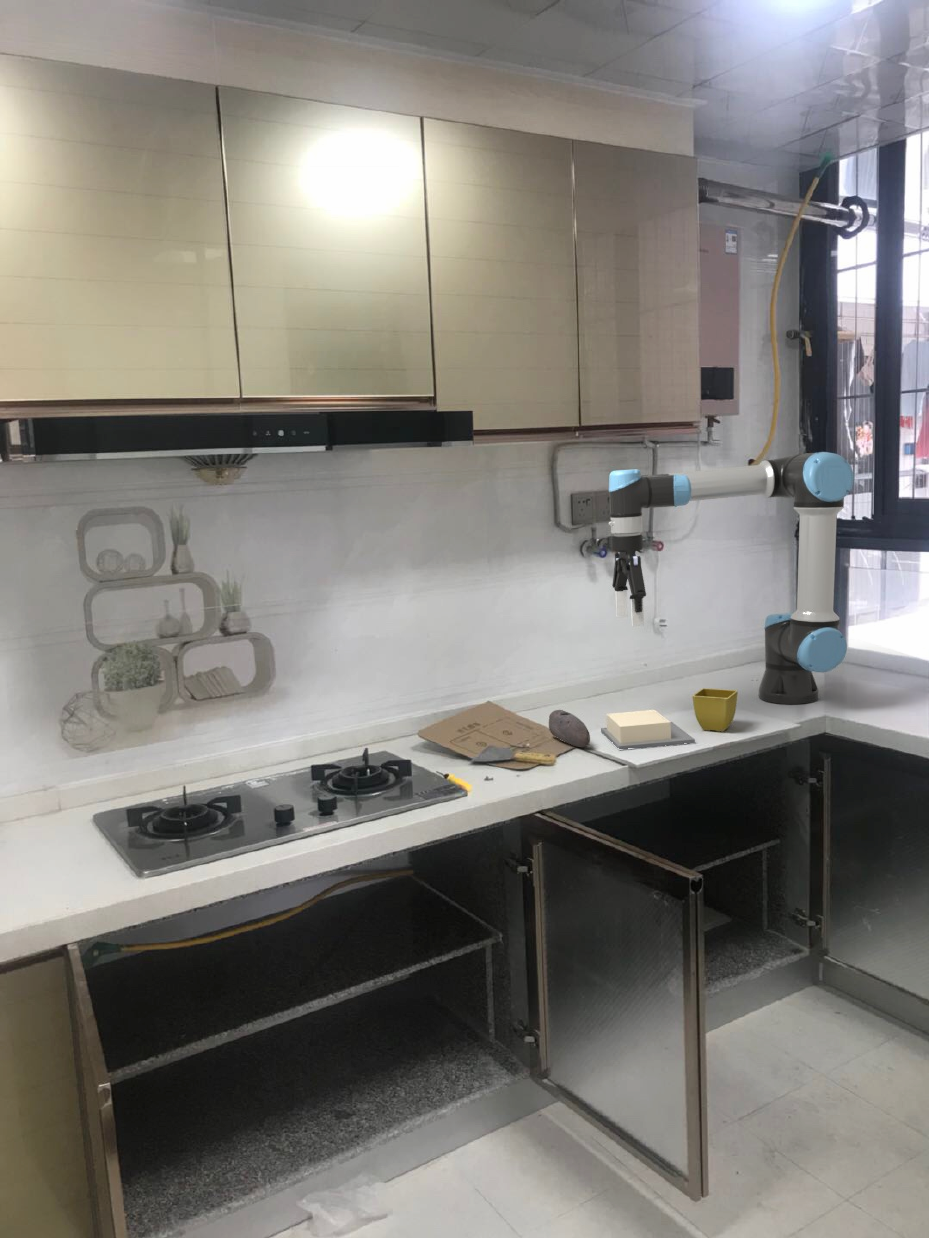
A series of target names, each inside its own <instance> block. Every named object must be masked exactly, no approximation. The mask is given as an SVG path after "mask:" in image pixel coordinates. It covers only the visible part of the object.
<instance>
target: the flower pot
mask: <svg viewBox="0 0 929 1238" xmlns="http://www.w3.org/2000/svg"><path fill="white" fill-rule="evenodd" d="M738 692H739V691H738V690H735V689H734V690H733V689H722V688H721V689H718V688H707V687H706V688H705V687H703V688H701V689H700V690H699V691H697V692H695V693H694V694H693V695H692V702H693V710H694V715H695V718H696V720H697V722H698V725H699V726H700V728H701V729H702V730H704V731H710V730H716V731H715V732H720V731H722V732H725V731H726V730H727V729H728V728H729V727H730V726H731V724H732V722H733V719H734V717H735V714H736V710H737V701H738V694H739V693H738Z"/></svg>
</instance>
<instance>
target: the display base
mask: <svg viewBox="0 0 929 1238" xmlns="http://www.w3.org/2000/svg"><path fill="white" fill-rule="evenodd" d="M600 732H601V734H602V735H603V734H604V735H603V736H606V737H607V738H608V739H609V740H610V741H611V742H613V744H614V745H615V746H616V747H617V748H619V749H628V748H641V749H648V748H647V747H652V748H658V747H657V746H663V747H666V746H665V745H673V746H676V745H675V744H684V743H695V744H696V739H695V738H694V737H693V736H691V735H690V734H689V733H687V732H686V731H685V730H683V729H682V728H681V727H679V726H678V725H676V724H675V723H674V722H673V721H670V720H668V719H667V718H665V716H663V715H662V714H661V713H659V712H658V711H656V710H655V709H648V710H647V709H646V710H637V711H634V710H633V711H627V712H626V711H623V712H614V713H613V712H612V713H606V727H600ZM606 737H605V738H606ZM608 739H607V740H608ZM609 740H608V741H609ZM610 741H609V742H610ZM611 742H610V743H611ZM613 744H612V745H613ZM614 745H613V746H614ZM684 745H685V744H684ZM615 746H614V747H615ZM616 747H615V748H616ZM617 748H616V749H617Z"/></svg>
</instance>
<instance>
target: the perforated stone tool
mask: <svg viewBox="0 0 929 1238" xmlns="http://www.w3.org/2000/svg"><path fill="white" fill-rule="evenodd" d="M548 729H549V731H550V733H551V735H552V736H553V737H555V736H556V737H558V738H559V739H561V740H563V741H565V742H567V743H569V744H568V745H570V744H571V745H570V746H574V747H577V748H586V747H587V746H588V745H589V744H590V742H591V735H590V732H589V730H588V728H587V726H586V724H585V723H584V722H583V720H581V719H579V718H578V717H577V716H576V715H574V714H573V713H571V712H568V711H565V710H563V709H555V710H553V711H552V712H550V714H549V719H548ZM556 737H555V738H556ZM559 739H558V740H559ZM565 742H564V743H565ZM567 743H566V744H567Z"/></svg>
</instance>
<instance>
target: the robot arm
mask: <svg viewBox="0 0 929 1238" xmlns="http://www.w3.org/2000/svg"><path fill="white" fill-rule="evenodd" d="M641 473H642V472H641V470H640V469H637V468H635V469H619V470H613V471H611V472H610V474H609V478H608V479H609V480H608V492H609V493H608V494H609V496H608V497H609V511H610V515H609V516H610V521H609V522H608V526H610V533H611V535H612V536H611V537H610V545H611V548H610V549H611V551H612V552H615V553H614V565H613V566H614V567H613V568H614V569H613V577H612V584H611V585H612V588H613V589H614V591H615V594H614V595H615V615H616V617H615V618H628V616H629V615H628V590H629V589H630V593H631V595H630V596H629V600H630V607H631V608H630V613H631V626H632V627H637V626H638V627H639V626H644V624H645V622H644V619H645V617H644V598H645V597H646V596H647V592H646V587H645V586H646V585H645V579H644V575H643V569H642V561H641V560H642V559H641V558H642V557H641V556H639V555H638V556H637V555H636V552H638V551H642V550H643V548H644V544H643V543H644V540H643V539H644V537H643V535H642V534H641V533H642V532H644V530H643V515H642V514H643V513H642V511H643V509H651V508H669V507H670V508H671V507H674V508H677V507H680V506H687V504H689V502H693V501H694V502H695V501H707V500H717V499H726V498H727V499H728V498H737V497H746V496H748V497H749V496H759V495H761V496H762V497H763V498H766V499H767V498H769V499H770V498H785V499H786V498H787V499H788V498H789V499H793V509H794V511H795V512H796V513H797V514H799V526H798V527H799V529H798V530H799V531H798V532H799V535H798V561H797V562H798V566H797V591H796V593H797V596H796V599H797V600H796V602H797V603H796V610H795V612H785V613H775V614H774V613H773V614H768V615H767V616H766V617H765V623H764V646H765V647H764V650H765V651H764V655H765V659H764V660H765V662H764V664H765V667H764V669H765V670H764V673H763V676H762V679H761V681H760V684H759V688H758V697H759V699H760V700H761V701H765V702H767V703H773V704H780V705H800V704H801V705H803V704H808V703H812V702H816V701H817V700H819V688H818V686H817V683H816V680H815V677H814V675H813V672H815V673H826V672H831V671H832V670H834V669H836V668H837V667H838V666H839V665H840V664H841V663H843V660H844V659H845V657H846V654H847V651H848V644H847V639H846V637H845V636H844V635H843V633H842V632H841V631H840V616H838V614H837V613H835V612H834V601H835V600H834V596H835V594H834V593H835V570H836V566H835V565H836V544H837V541H836V540H837V516H838V514H839V513H840V512H841V511H842V510H844V507H845V506H844V505H845V504H844V503H845V497H846V496H848V494H849V492H851V490H852V488H853V485H854V480H855V479H854V471H853V468H852V467H851V464H850V463H849V461H848V460H847V459H846V458H844V457H843V456H842V455H840V454H839V453H838V454H837V453H834V452H829V451H819V452H810V453H808V452H807V453H805V452H804V453H802V452H801V453H797V454H792V455H788V456H784V457H779V458H774V459H768V460H767V459H765V460H762V461H761V462H760V463H759V464H757V465H746V466H745V465H744V466H736V467H724V468H713V469H702V470H692V471H682V472H671V473H660V474H649V475H648V474H645V475H642V474H641ZM627 583H628V585H629V587H628V585H627ZM628 588H629V589H628Z"/></svg>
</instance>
